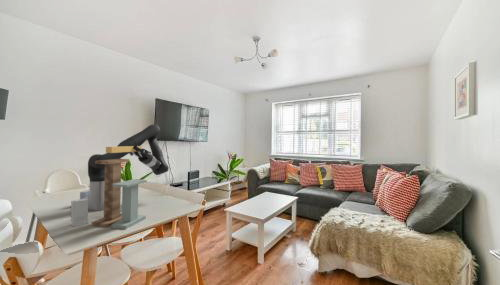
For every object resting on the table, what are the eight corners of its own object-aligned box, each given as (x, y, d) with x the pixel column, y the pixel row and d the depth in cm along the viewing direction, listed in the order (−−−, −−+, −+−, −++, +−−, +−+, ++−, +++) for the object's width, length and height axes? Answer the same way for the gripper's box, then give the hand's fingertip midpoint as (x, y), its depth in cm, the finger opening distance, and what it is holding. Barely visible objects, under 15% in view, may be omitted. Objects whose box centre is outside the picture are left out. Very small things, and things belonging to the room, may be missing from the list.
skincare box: (86, 221, 106) (86, 197, 106) (88, 223, 103) (88, 199, 103) (70, 224, 101) (70, 200, 101) (72, 227, 98) (72, 202, 98)
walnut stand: (91, 225, 101) (92, 160, 101) (114, 215, 114) (115, 158, 114) (108, 227, 99) (110, 161, 99) (130, 216, 113) (131, 159, 113)
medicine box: (85, 206, 129) (85, 192, 129) (79, 205, 130) (79, 191, 130) (96, 202, 137) (97, 189, 137) (91, 202, 138) (91, 189, 138)
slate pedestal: (111, 227, 99) (112, 184, 99) (132, 217, 112) (133, 179, 112) (126, 229, 97) (127, 185, 97) (145, 218, 111) (146, 179, 111)
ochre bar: (105, 152, 104) (105, 146, 104) (136, 150, 126) (136, 146, 126) (111, 152, 104) (111, 147, 104) (141, 151, 125) (141, 146, 125)
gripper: (140, 153, 136) (123, 140, 122) (159, 154, 134) (144, 141, 119) (136, 164, 133) (117, 151, 118) (155, 164, 130) (139, 152, 116)
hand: (131, 146), depth 119 cm, fingers closed on ochre bar, 3 cm apart
